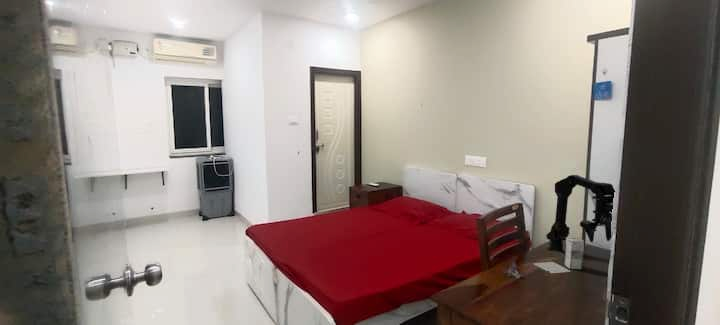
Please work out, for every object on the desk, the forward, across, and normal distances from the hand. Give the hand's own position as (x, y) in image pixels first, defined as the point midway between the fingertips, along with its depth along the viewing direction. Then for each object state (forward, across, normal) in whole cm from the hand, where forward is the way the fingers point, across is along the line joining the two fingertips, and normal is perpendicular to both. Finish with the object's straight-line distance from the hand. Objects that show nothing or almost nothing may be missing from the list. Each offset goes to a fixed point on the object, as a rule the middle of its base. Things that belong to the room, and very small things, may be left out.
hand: (599, 241), depth 170 cm
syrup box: (+14, -10, +4) cm, 18 cm away
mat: (+14, -21, +5) cm, 26 cm away
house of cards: (+14, -49, -1) cm, 51 cm away
